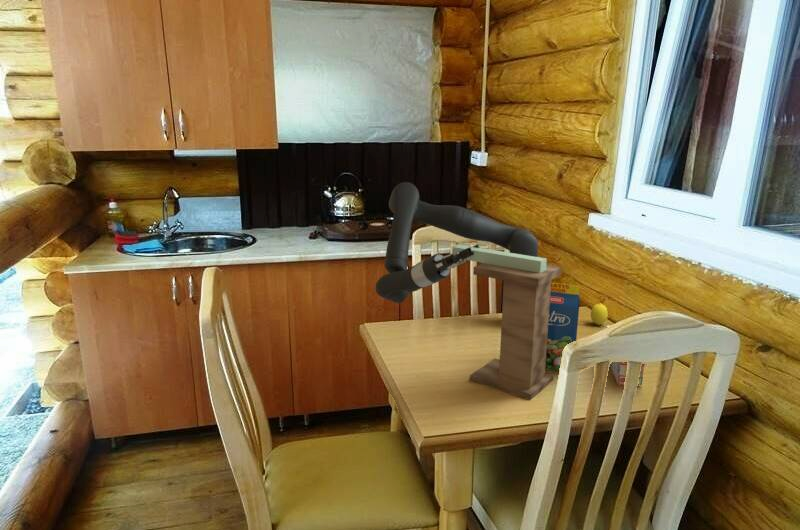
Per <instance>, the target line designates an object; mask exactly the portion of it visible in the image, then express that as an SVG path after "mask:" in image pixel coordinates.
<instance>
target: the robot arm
mask: <svg viewBox="0 0 800 530" xmlns="http://www.w3.org/2000/svg"><path fill="white" fill-rule="evenodd" d="M419 192H420V191H419V189H418V187H416V185H415V184H413V183H411V182H408V181H407V182H406V181H403V182H400V183H398V184H397V185H395V187H394V188H393V190H392V192H391V195H390V198H389V200H388V207H389V210H390V211H391V213H393V216H392V224H391V228H390V232H389V235H388V236H389V237H388V242H387V245H386V250H385V251H386V252H385V259H384V269H385V270H386V271H387V272H388V273H386V274H384V275H382V276H380V278H378V280H377V281H376V283H375V287H374V288H375V293H376V294H377V295H378V296H379V297H380V298H382V299H385V300H387V301H390V302H392V303H395V304H402V303H403V302H405V301H406V300H407V299H408V296H409V293H414V292H416V291H419V290H420V289H423V288H425V287H429V286H432V285H435V284H436V283H438V282H440V281H443V280H445V279H447V278H449V276H450V274H451V269H455V268H457V267H458V266H459V265H461V264H464V263H465V262H466V261H467V260H464V259H465V258H467V257H469V256H472V255H473V254H474V252H473V249H472V248H471V247H476V248H481V245H480V244H476V245H474V246H470V247H469V248H467V249H465V250H463V251H461V252H456V253H455V254H454V253H450V254H446V255H444V254H441V253H435V254H433V255H431V256H429V257H427V258H425V259H423V260H421V261H419V262H417V263H416V264H415V265H412V266H411V267H409V268H407V266H408V259H409V249H410V240H411V231H412V224H413V221H415V222H419V223H423V224H426V225H429V226H431V227H434V228H436V229H439V230H444V231H446V232H449V233H451V234H454V235H456V236H459V237H462V238H464V239H468V240H474V241H481V242H488V243H491V244H494V245H496V246H499V247H501V248H503V249H506V250H507V251H508V252H509V253H515V254H521V255H527V256H534V257H539V243H538V239H537V237H536V236H535V235H534V234H533V233H532V232H531V231H529V230H528V229H526V228H522V227H517V226H512V225H508V224H505V223H502V222H499V221H496V220H494V219H492V218H490V217H487V216H485V215H483V214H481V213H479V212H476V211H474V210H471V209H468V208H465V207H462V206H459V205H450V204H449V205H447V204H445V205H443V204H442V205H440V204H439V205H437V204H431V203H428V202H425V201H422V200H420V193H419Z"/></svg>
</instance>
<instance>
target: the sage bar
mask: <svg viewBox="0 0 800 530" xmlns="http://www.w3.org/2000/svg"><path fill="white" fill-rule="evenodd" d="M469 247H471V248H472V249H473V252H474V254H473V255H472V256H469V257H467V258H465V259H464V260H466V261H470V262H474V263H475V262H476V263H480V264H483V263H486V264H492V265H498V266H504V267H509V268H515V269H521V270H526V271H532V272H538V273H541V272H543V271H545V270H546V265H547V258H545V257H539V256H538V257H534V256H527V255H521V254H515V253H510V252H509V251H500V250H495V249H490V248H489V249H488V248H482V247H480V248H476V247H473V246H469V245H464V244H457V245H455V246H452V247H451V252H452V253H454V254H455V253H456V252H461V251H463V250H465V249H467V248H469ZM452 253H451V254H452Z"/></svg>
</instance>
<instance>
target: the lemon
mask: <svg viewBox="0 0 800 530" xmlns="http://www.w3.org/2000/svg"><path fill="white" fill-rule="evenodd" d="M608 315H609V313H608V308H607V307H606V306H605V305H604V304H602V303H601V302H600V303H597V304H595V305H593V306H592V308H591V310H590V318H591V321H592V322H593V323H594V324H595V325H597V326H600V325H602V324H604V323H605V322H606V321H607V320H608Z"/></svg>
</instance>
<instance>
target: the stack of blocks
mask: <svg viewBox="0 0 800 530" xmlns="http://www.w3.org/2000/svg"><path fill="white" fill-rule="evenodd" d="M609 326H610V325H606V328H607V327H609ZM609 367H610V369H611V371H613V372H612V373H613V376H614V379H615V382H616V384H617V385H618V386H625V385H624V382H625V377H626V371H627V362H612V363H611V364H610V365H609ZM644 368H645V364H642V366H641V371H640V377H639V384H638V386H637V387H639V385H641V386H642V385H643V379H644V377H643V376H644V370H645V369H644Z"/></svg>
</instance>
